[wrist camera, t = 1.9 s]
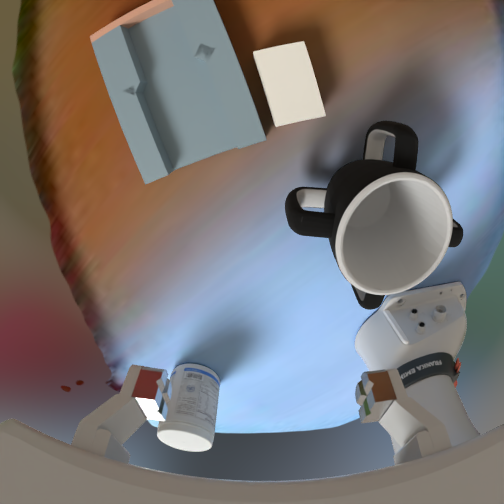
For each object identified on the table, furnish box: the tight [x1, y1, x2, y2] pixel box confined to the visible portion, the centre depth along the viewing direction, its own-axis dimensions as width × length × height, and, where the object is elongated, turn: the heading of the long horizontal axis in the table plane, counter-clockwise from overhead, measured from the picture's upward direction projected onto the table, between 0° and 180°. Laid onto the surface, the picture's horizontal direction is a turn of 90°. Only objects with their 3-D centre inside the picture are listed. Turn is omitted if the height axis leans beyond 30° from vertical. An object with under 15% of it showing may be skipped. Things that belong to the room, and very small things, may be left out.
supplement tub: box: [157, 363, 220, 451], centre depth 44 cm, size 10×10×15 cm
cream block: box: [253, 41, 326, 127], centre depth 25 cm, size 5×8×4 cm, turn 16°
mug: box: [285, 121, 463, 309], centre depth 28 cm, size 16×16×12 cm
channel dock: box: [90, 0, 266, 184], centre depth 25 cm, size 14×20×3 cm
